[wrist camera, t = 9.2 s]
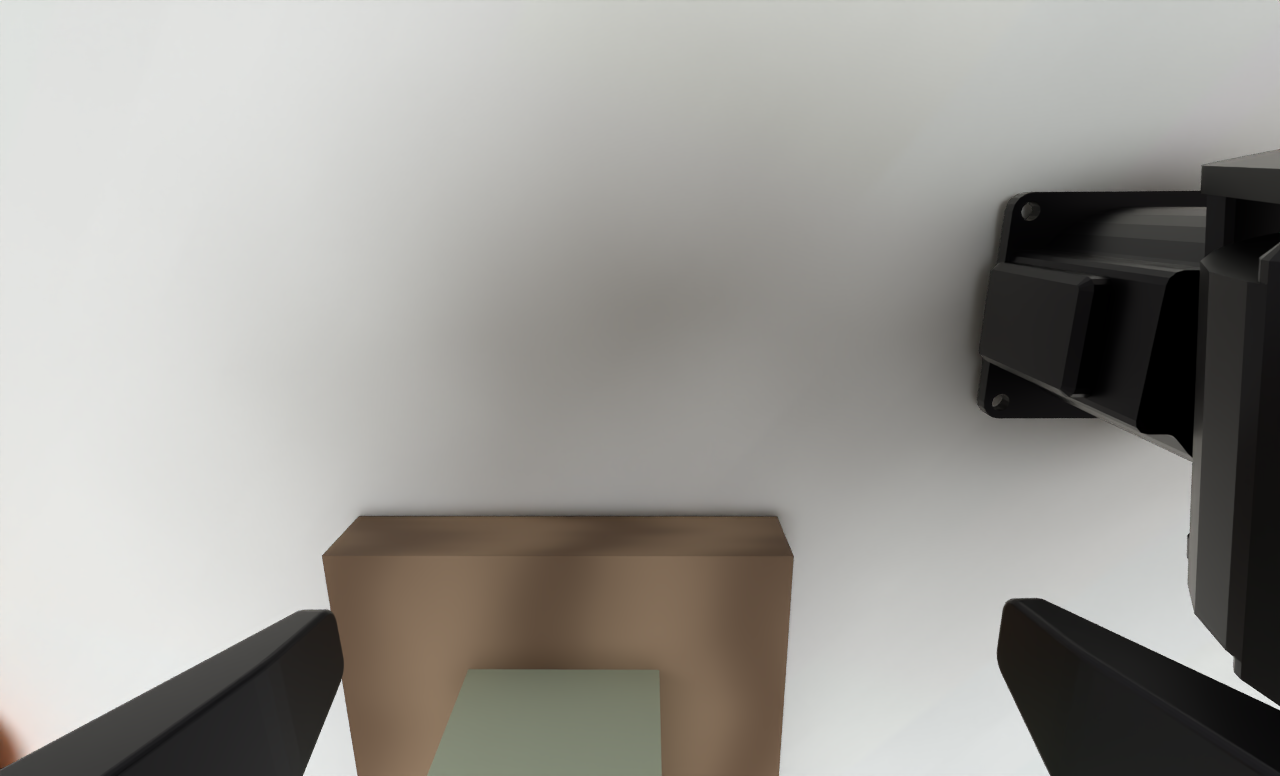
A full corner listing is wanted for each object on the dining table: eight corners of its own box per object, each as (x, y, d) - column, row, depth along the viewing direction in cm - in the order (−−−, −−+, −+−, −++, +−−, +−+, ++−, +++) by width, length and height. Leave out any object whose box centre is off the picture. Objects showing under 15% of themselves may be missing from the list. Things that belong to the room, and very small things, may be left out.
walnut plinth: (777, 516, 21) (793, 556, 19) (758, 839, 25) (769, 906, 23) (358, 516, 21) (322, 555, 19) (403, 836, 25) (378, 902, 23)
